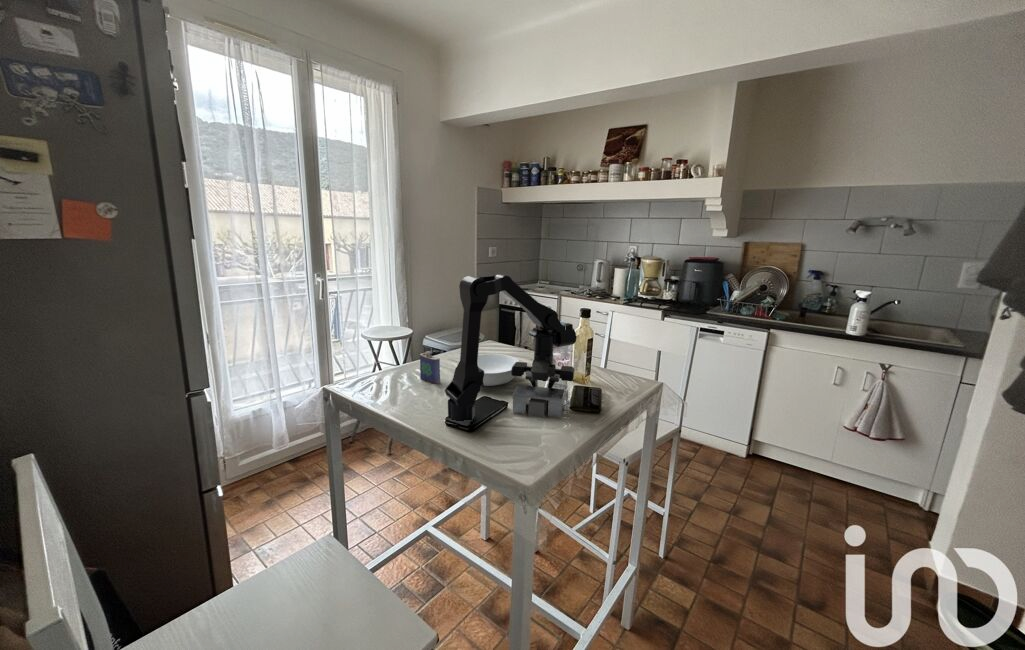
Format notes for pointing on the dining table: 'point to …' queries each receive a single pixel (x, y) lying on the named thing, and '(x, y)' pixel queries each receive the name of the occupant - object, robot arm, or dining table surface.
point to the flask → (429, 368)
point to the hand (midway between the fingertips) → (542, 397)
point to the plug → (537, 407)
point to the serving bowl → (496, 368)
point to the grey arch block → (527, 392)
